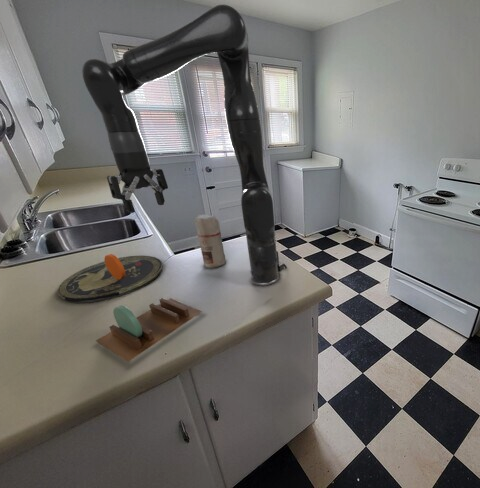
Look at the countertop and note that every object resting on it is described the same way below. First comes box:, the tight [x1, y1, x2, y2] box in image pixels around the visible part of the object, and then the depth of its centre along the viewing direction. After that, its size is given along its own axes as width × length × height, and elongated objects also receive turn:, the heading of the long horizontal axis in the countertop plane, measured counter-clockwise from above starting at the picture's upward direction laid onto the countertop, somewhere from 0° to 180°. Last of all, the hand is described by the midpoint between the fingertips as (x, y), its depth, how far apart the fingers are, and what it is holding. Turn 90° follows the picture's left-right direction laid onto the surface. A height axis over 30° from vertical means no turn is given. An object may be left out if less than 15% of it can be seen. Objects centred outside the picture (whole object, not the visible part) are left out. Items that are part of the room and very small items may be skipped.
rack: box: [95, 297, 203, 362], centre depth 71 cm, size 20×14×4 cm
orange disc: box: [104, 253, 125, 280], centre depth 90 cm, size 1×9×9 cm, turn 63°
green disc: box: [112, 304, 142, 338], centre depth 65 cm, size 1×9×9 cm, turn 63°
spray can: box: [193, 213, 227, 269], centre depth 102 cm, size 8×8×20 cm
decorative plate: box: [57, 255, 164, 304], centre depth 96 cm, size 30×2×30 cm
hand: (147, 208), depth 79 cm, fingers open, 8 cm apart
